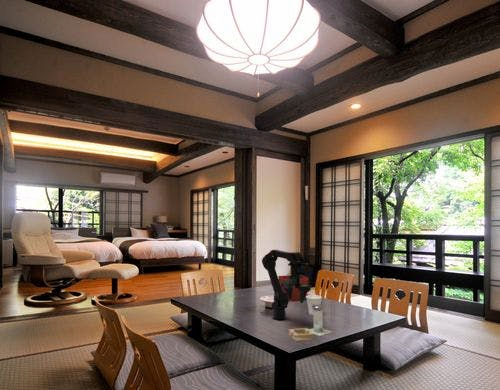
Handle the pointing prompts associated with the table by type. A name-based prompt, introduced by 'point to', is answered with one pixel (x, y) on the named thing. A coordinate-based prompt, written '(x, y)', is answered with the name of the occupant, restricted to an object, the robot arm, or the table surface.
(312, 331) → the pad
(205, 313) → the table surface
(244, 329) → the table surface
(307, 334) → the bore block
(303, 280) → the plant pot
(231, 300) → the table surface
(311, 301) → the cup
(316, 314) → the salt shaker
